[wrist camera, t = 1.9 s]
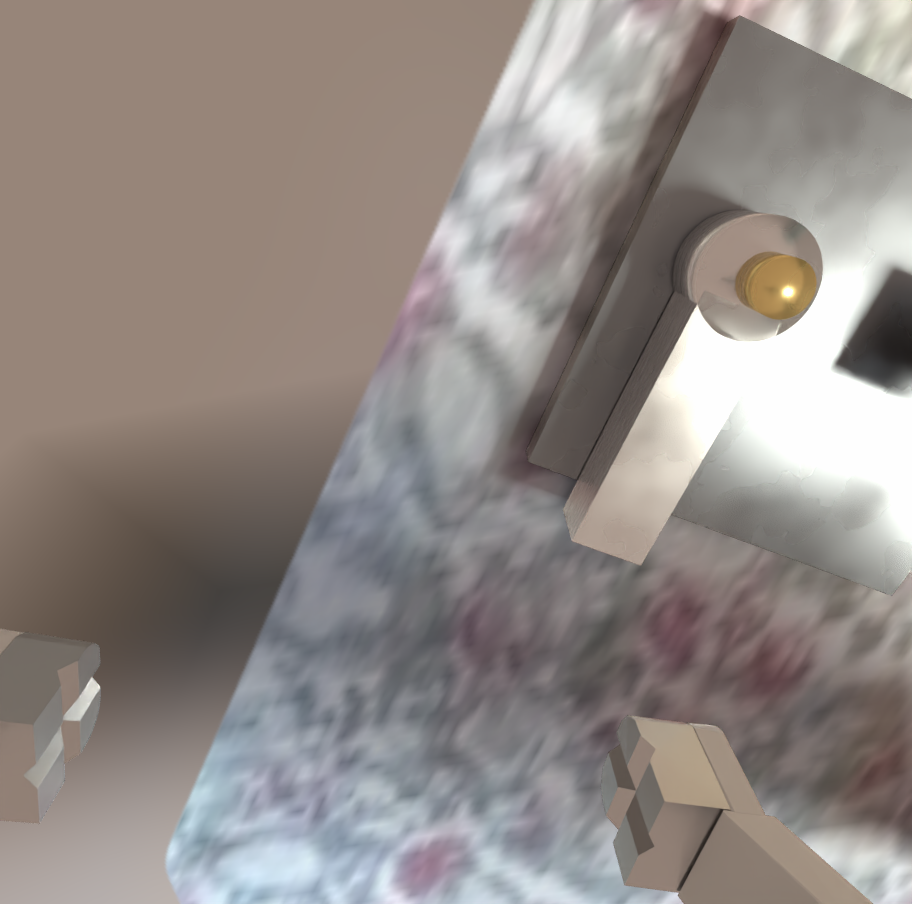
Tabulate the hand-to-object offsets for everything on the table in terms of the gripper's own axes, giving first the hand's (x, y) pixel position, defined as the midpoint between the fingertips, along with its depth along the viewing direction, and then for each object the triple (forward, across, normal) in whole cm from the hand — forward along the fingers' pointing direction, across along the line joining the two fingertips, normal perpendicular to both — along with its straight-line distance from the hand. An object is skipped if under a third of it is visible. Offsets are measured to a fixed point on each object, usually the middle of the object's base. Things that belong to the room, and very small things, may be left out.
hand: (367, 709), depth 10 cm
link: (+18, +11, +1) cm, 21 cm away
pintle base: (+20, +16, +4) cm, 26 cm away
